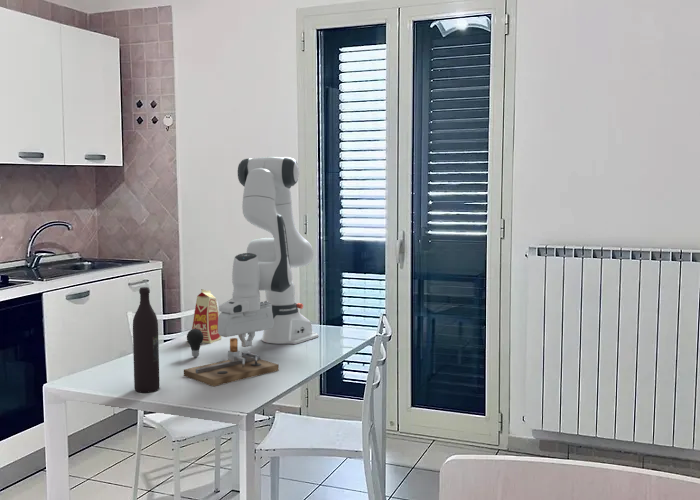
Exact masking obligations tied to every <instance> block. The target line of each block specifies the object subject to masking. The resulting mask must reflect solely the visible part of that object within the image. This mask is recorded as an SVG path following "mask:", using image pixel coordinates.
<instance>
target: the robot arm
mask: <svg viewBox="0 0 700 500" xmlns="http://www.w3.org/2000/svg"><path fill="white" fill-rule="evenodd" d="M299 176H300V167H299V165H298V162H297V160H296V159H295V158H292V157H289V156H284V157H280V156H265V157H256V158H255V157H254V158H252V157H249V158H244V159H242V160H241V161H240V162H239V163H238V166H237V179H238V181H239V182H238V183H239V184H241V185H242V187H244V188H243V195H242V204H241V205H242V207H241V209H242V214H243V217H244V218H245V220H246V221H247V222H249V223H250V224H251V225H253V226H254V227H257V228H259V229H262V230H264V231H266V232H269V233H270V234H271V235H272V236H273V237H261V238H256V239H251V241H250V242H249V243H248V244H247V248H246V252H244V253H238V254H236V255H235V256H234V257H233V263H232V264H233V265H232V272H231V273H232V274H231V278H232V279H231V281H232V285H233V291H232V294H231V295H232V296H231V297H232V298H230V299H227V301H225V302H223V303H221V304H220V305H219V306H218V312H220V313H219V317H218V333H219V335H220V336H221V337H223V338H229V337H230V338H231V337H235V336H238V338H239V340H240V342H241V347H242V348H247V347H248V348H249V347H252V346H253V341H254V337H255V336H256V332H261V331H263V332H262V337H261V341H262V342H264V343H268V344H277V345H278V344H279V345H280V344H283V345H284V344H291V345H292V344H294V345H296V344H300V343H304V342H306V341H309V340H314V339H315V338H318V337H319V334H318V333H317V332H315V331H313V326H312V323H311V320H309V318H307V317H305V316H304V315H303V314H302V313H300V311H299V309H300V310H302V309H303V303H299V302H297V303H296V295H295V293H296V292H295V291H296V285H295V282H294V281H293V273H292V269H291V268H294V269H295V268H302V267H307V266H309V265H310V263H311V262H312V260H313V258H314V248H313V246H312V244H311V242H310V241H308V240H307V239H306V238H305V237H303V235H302V234H301V233H300V232H299V230H298V228H297V226H296V224H295V221H294V216H293V203H292V192H291V188H292V187H294V186H295V185H296V184H297V183H298V180H299ZM260 291H263V292H264V293H265V301H261V292H260ZM247 335H248V336H247ZM246 336H247V339H246V338H245V337H246Z"/></svg>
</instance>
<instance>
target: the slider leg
mask: <svg viewBox="0 0 700 500" xmlns="http://www.w3.org/2000/svg"><path fill="white" fill-rule="evenodd" d="M238 340H239V339H238V338H237V337H230V338H229V350H227V351H228V352H227V353H228V354H227V357H228V358H227V360H229V361H233V362H235V361H239V360H240V361H242V367H245V358H242V356H241V355H240V351H239V349H238V346H239V345H238V344H239V343H238Z"/></svg>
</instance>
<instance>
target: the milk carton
mask: <svg viewBox="0 0 700 500" xmlns="http://www.w3.org/2000/svg"><path fill="white" fill-rule="evenodd" d="M219 312H220V311H219V306H218V302H217V297H215V296H214V295H213V294H212V290H206V289H201V292H200V293H198V295H196V303H195V308H194V313H193V320H192V326H191V330H192V329H199V330H200V331H201V332H202V333H203V341H202V343H201V344H213V343H215V342H218V341H220V340H222V336H220V335H219V333H218V317H219V315H220V313H219Z"/></svg>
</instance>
